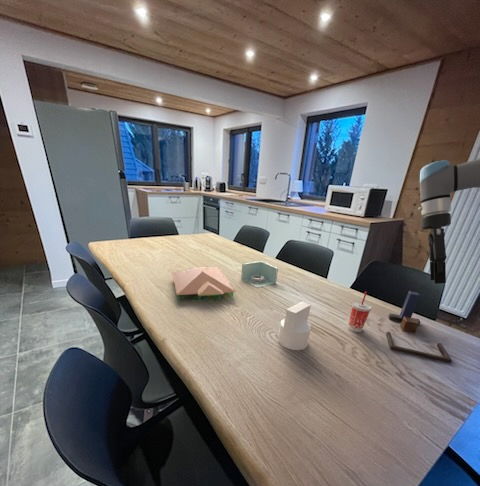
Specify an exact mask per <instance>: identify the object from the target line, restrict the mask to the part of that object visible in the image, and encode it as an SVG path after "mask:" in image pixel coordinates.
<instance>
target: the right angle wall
mask: <svg viewBox="0 0 480 486" xmlns="http://www.w3.org/2000/svg"><path fill="white" fill-rule="evenodd" d="M278 271H279V268H278V267H277V266H274V265H272V264H270V263H268V262H265V261H262V260H259V261H252V262H246V263H242V264H241V275H240V279H241V280H243V281H245V282H246V283H247V284H250V285H252V286H254V287H256V288H259V287H265V286H268V285H273V284H276V283H277V279H278V273H279V272H278Z"/></svg>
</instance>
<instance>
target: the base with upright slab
mask: <svg viewBox="0 0 480 486" xmlns="http://www.w3.org/2000/svg"><path fill="white" fill-rule="evenodd" d="M311 305H312V304H311V303H309V302H307V301H303V300H302V301H300V302H298V303H296V304H294V305H292V306H289V307H288V308H286V310H285V315H284V317H285V318H283V319H281V321H280V324H279V329H278V336H277V342H278V344H279V345H280V346H282V347H283V348H286V349H288V350H292V351H301V350H304V349H306V348H307V347H308V343H309V342H308V341H309V339H310V338H309V337H310V333H311V329H312V325H311V324H310V323H309V322H308V320H309V316H310V311H311V307H312V306H311Z"/></svg>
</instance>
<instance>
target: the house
mask: <svg viewBox="0 0 480 486" xmlns="http://www.w3.org/2000/svg"><path fill="white" fill-rule="evenodd" d="M171 274H172V278H173V283H174V288H175V293H176V296H177V298H178V302H182V300H180V298H183V296H189V295H196V296H195V298H196V300H195V299H193V302H197V301H201V297H204V301H205V302H206V303H211V302H212V303H213V302H214V300H208V297H210V299H216V296H217V302H220V301H221V297H223V296H225V295H227V294H228V295H229V296H230V297H227V300H230V299H233V298H234V293H236V290H235V289H234V287H233V286H232V284H231V282H230V281H229V280H228V278H227V277H226V276H225V274H224V273H223V271H222V270H221V268H220V267H217V266H216V267H215V266H202V267H199V266H198V267H189V268H188V269H187V270H180V271H172V272H171Z"/></svg>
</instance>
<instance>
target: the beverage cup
mask: <svg viewBox="0 0 480 486" xmlns="http://www.w3.org/2000/svg"><path fill="white" fill-rule="evenodd" d="M367 294H368V291H367V290H366V291H364V295H363V299H362V300H361V301H353V302H352V303H351V311H350V316H349V320H348V325H347V328H348V329H349V330H350V331H352V332H356V333H360V332H362V331H363V329H364V327H365V324H366V321H367V319H368V317H369V315H370V312H371V311H372V308H373V307H372V305H370V304H369V303H366V302H365V300H366V296H367Z"/></svg>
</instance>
